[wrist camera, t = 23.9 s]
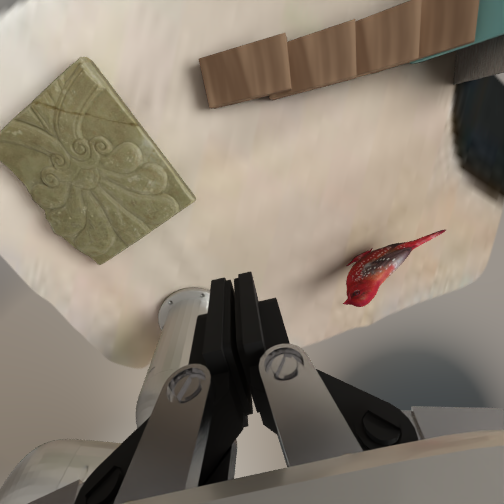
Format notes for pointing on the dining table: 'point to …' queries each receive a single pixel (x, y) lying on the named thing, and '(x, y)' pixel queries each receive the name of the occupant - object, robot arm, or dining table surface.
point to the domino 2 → (321, 59)
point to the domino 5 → (483, 24)
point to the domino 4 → (446, 25)
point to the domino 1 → (247, 72)
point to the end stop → (480, 60)
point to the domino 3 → (388, 38)
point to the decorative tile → (91, 164)
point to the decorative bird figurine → (377, 269)
